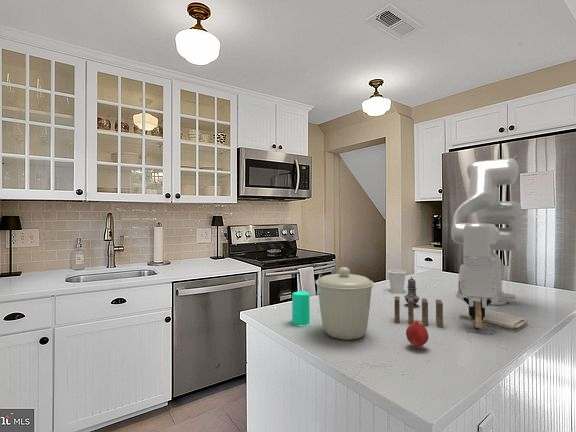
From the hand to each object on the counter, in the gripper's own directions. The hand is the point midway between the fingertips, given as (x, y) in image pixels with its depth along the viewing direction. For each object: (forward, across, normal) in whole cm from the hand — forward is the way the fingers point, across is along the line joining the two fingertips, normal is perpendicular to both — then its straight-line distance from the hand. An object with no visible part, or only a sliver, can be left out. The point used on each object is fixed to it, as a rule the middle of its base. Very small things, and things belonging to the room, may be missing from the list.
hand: (476, 318), depth 101 cm
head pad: (+4, 0, -1) cm, 4 cm away
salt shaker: (+3, +19, -22) cm, 29 cm away
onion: (+5, +19, +21) cm, 28 cm away
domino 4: (+4, +11, -1) cm, 12 cm away
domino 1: (+4, +24, -1) cm, 25 cm away
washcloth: (+4, -7, -11) cm, 13 cm away
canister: (+5, +40, +17) cm, 43 cm away
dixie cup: (+3, +25, -45) cm, 52 cm away
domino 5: (+3, 0, +1) cm, 3 cm away
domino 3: (+4, +15, -1) cm, 16 cm away
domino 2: (+4, +20, -1) cm, 20 cm away
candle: (+5, +56, +12) cm, 57 cm away
